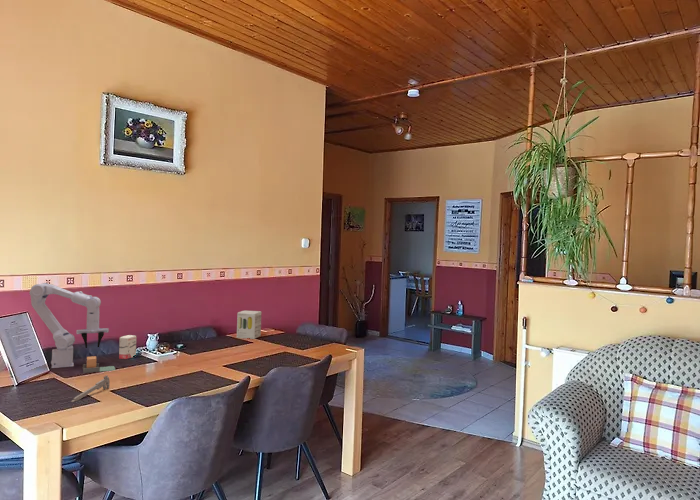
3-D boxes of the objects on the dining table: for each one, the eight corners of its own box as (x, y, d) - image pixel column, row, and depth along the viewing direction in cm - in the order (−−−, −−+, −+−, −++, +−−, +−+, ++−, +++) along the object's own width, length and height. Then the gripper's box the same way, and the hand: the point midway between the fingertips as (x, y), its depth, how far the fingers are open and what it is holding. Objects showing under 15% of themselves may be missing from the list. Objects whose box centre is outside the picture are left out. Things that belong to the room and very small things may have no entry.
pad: (99, 372, 239) (99, 371, 239) (98, 368, 247) (98, 367, 247) (115, 370, 243) (115, 370, 243) (114, 366, 250) (114, 365, 250)
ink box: (126, 359, 266) (126, 338, 266) (118, 359, 267) (118, 337, 267) (136, 356, 274) (136, 335, 274) (128, 355, 275) (129, 334, 275)
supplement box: (236, 337, 337) (236, 312, 337) (243, 334, 350) (244, 310, 350) (254, 339, 335) (255, 313, 334) (261, 335, 348) (261, 311, 347)
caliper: (107, 388, 215) (107, 374, 215) (109, 388, 215) (109, 374, 215) (70, 402, 195) (71, 387, 195) (73, 403, 195) (73, 387, 195)
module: (86, 371, 238) (87, 359, 238) (86, 368, 243) (86, 356, 243) (96, 371, 240) (96, 358, 240) (95, 368, 245) (95, 356, 245)
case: (83, 373, 236) (83, 368, 236) (82, 366, 248) (82, 361, 248) (99, 372, 239) (99, 367, 239) (98, 365, 252) (98, 360, 252)
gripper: (76, 322, 244) (76, 349, 244) (109, 321, 251) (108, 347, 251) (76, 320, 250) (76, 347, 250) (108, 319, 257) (107, 345, 257)
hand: (92, 347), depth 251 cm, fingers open, 5 cm apart
